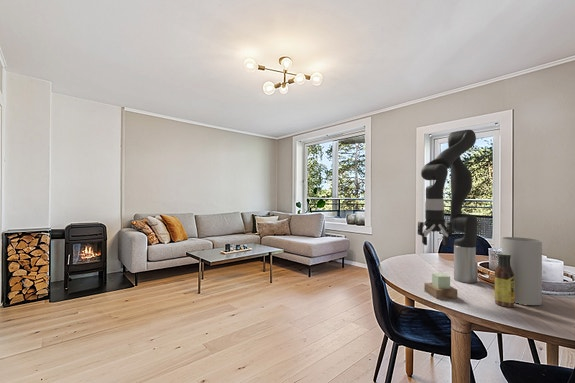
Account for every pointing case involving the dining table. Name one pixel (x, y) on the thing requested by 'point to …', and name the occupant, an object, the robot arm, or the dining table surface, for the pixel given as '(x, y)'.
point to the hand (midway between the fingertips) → (434, 244)
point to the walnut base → (440, 292)
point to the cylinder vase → (525, 268)
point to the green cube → (441, 280)
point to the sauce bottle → (504, 282)
